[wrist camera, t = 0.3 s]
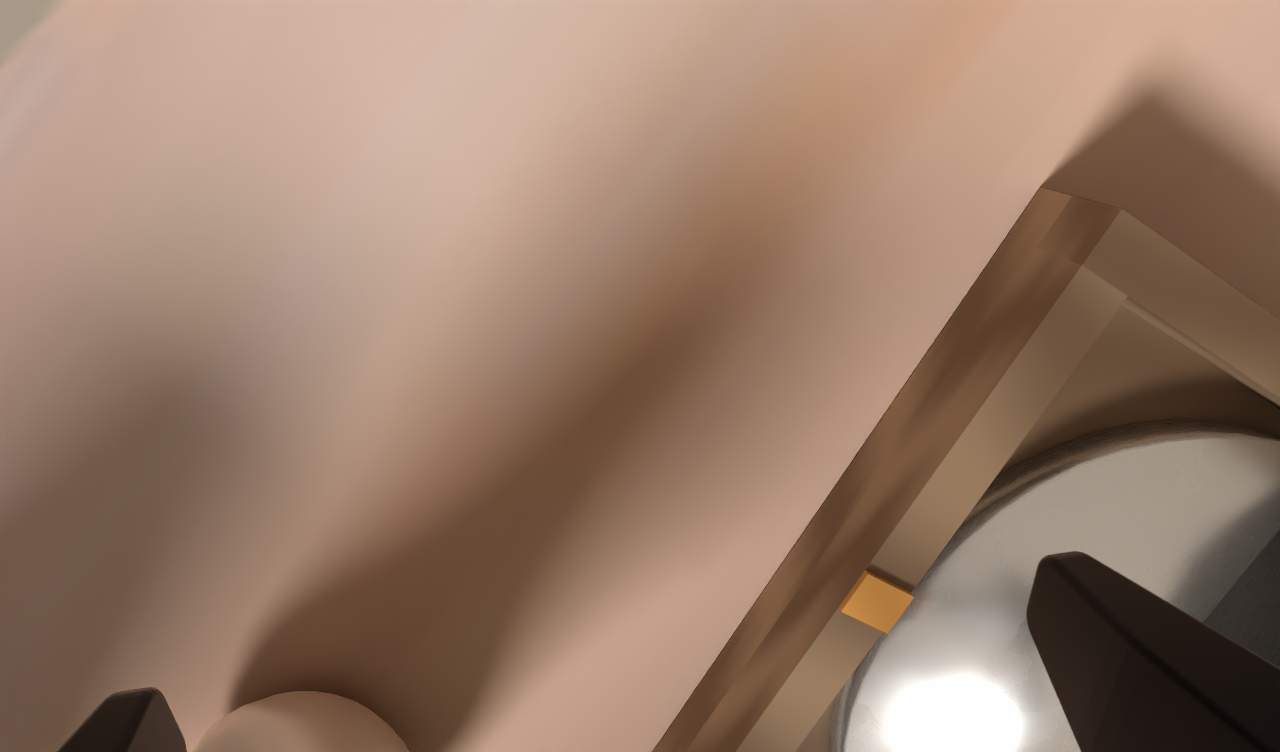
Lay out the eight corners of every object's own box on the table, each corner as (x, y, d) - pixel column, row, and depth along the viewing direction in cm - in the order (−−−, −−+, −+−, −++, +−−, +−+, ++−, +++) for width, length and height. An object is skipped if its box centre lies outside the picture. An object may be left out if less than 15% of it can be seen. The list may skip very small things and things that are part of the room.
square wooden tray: (1116, 994, 36) (1182, 1096, 32) (615, 805, 30) (630, 906, 26) (1533, 527, 31) (1663, 587, 27) (1040, 187, 25) (1127, 210, 21)
